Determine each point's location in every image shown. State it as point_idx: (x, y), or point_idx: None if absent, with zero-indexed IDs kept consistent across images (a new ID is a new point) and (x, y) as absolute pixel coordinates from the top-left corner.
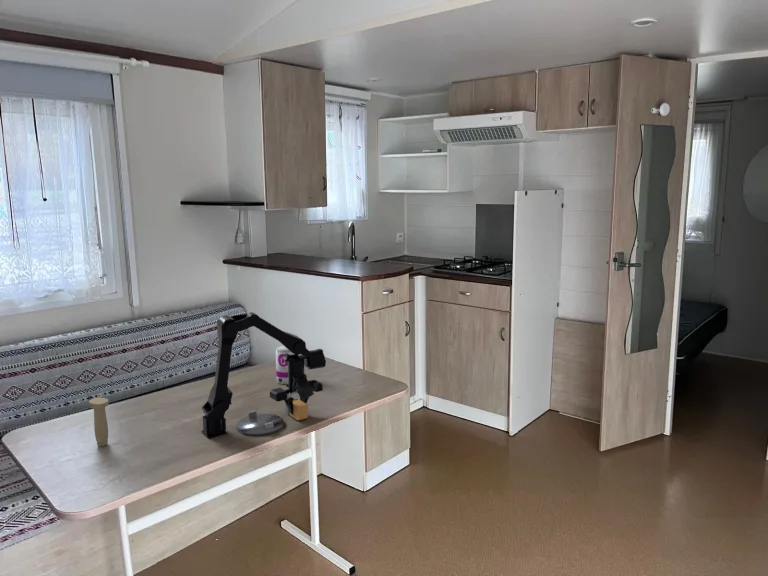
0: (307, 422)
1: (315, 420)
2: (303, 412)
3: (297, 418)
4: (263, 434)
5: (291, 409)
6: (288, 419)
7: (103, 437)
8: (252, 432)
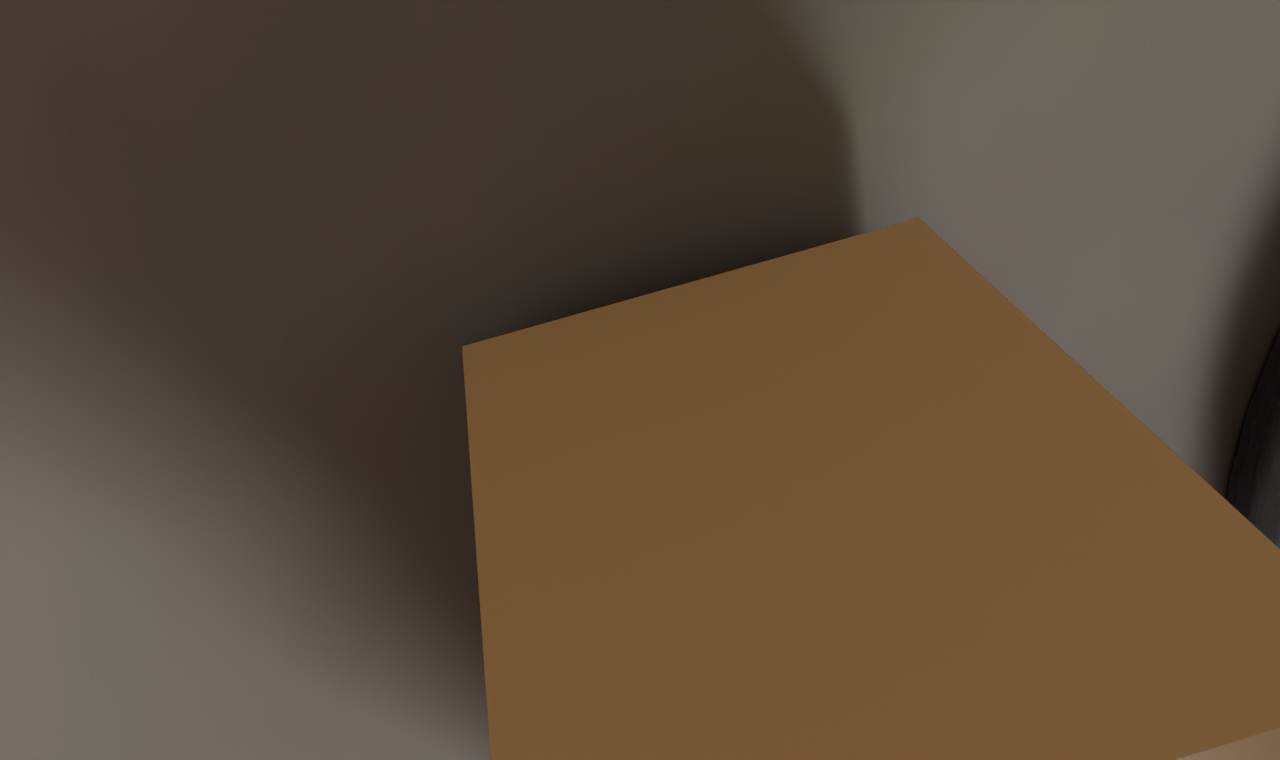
0: (553, 15)
1: (135, 97)
2: (740, 461)
3: (956, 280)
4: None
5: None
6: None
7: None
8: None
